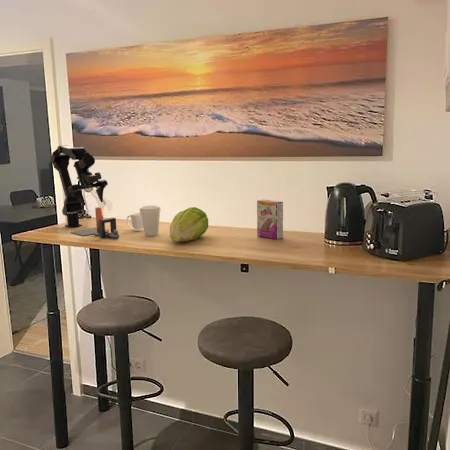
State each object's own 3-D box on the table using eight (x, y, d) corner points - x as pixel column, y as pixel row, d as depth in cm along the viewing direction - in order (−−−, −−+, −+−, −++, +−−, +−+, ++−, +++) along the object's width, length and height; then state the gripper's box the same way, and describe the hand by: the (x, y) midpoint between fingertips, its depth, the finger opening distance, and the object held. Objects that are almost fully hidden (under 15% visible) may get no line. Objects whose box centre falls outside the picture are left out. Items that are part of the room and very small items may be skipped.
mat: (70, 232, 235) (70, 231, 235) (96, 227, 245) (96, 227, 245) (83, 236, 227) (83, 235, 227) (109, 231, 236) (109, 230, 236)
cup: (140, 232, 233) (139, 215, 231) (123, 230, 237) (122, 214, 235) (148, 229, 239) (147, 213, 237) (131, 227, 243) (130, 212, 241)
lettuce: (152, 230, 205) (178, 214, 198) (178, 212, 226) (202, 197, 219) (170, 258, 207) (196, 244, 199) (194, 238, 228) (218, 224, 221)
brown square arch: (99, 237, 222) (98, 219, 221) (114, 235, 228) (112, 217, 226) (102, 238, 221) (101, 220, 219) (116, 235, 226) (115, 218, 224)
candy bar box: (256, 236, 218) (256, 200, 214) (263, 234, 221) (263, 199, 218) (276, 240, 210) (276, 202, 207) (283, 238, 214) (283, 201, 210)
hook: (91, 235, 229) (89, 207, 226) (103, 232, 233) (101, 206, 230) (111, 240, 217) (109, 211, 214) (123, 238, 221) (121, 209, 218)
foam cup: (148, 237, 221) (146, 209, 218) (137, 234, 228) (135, 207, 225) (165, 234, 227) (164, 206, 224) (154, 231, 234) (153, 204, 231)
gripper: (72, 169, 219) (82, 202, 218) (108, 164, 232) (118, 195, 231) (62, 177, 227) (72, 209, 227) (97, 172, 240) (107, 202, 239)
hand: (93, 203), depth 231 cm, fingers open, 9 cm apart
